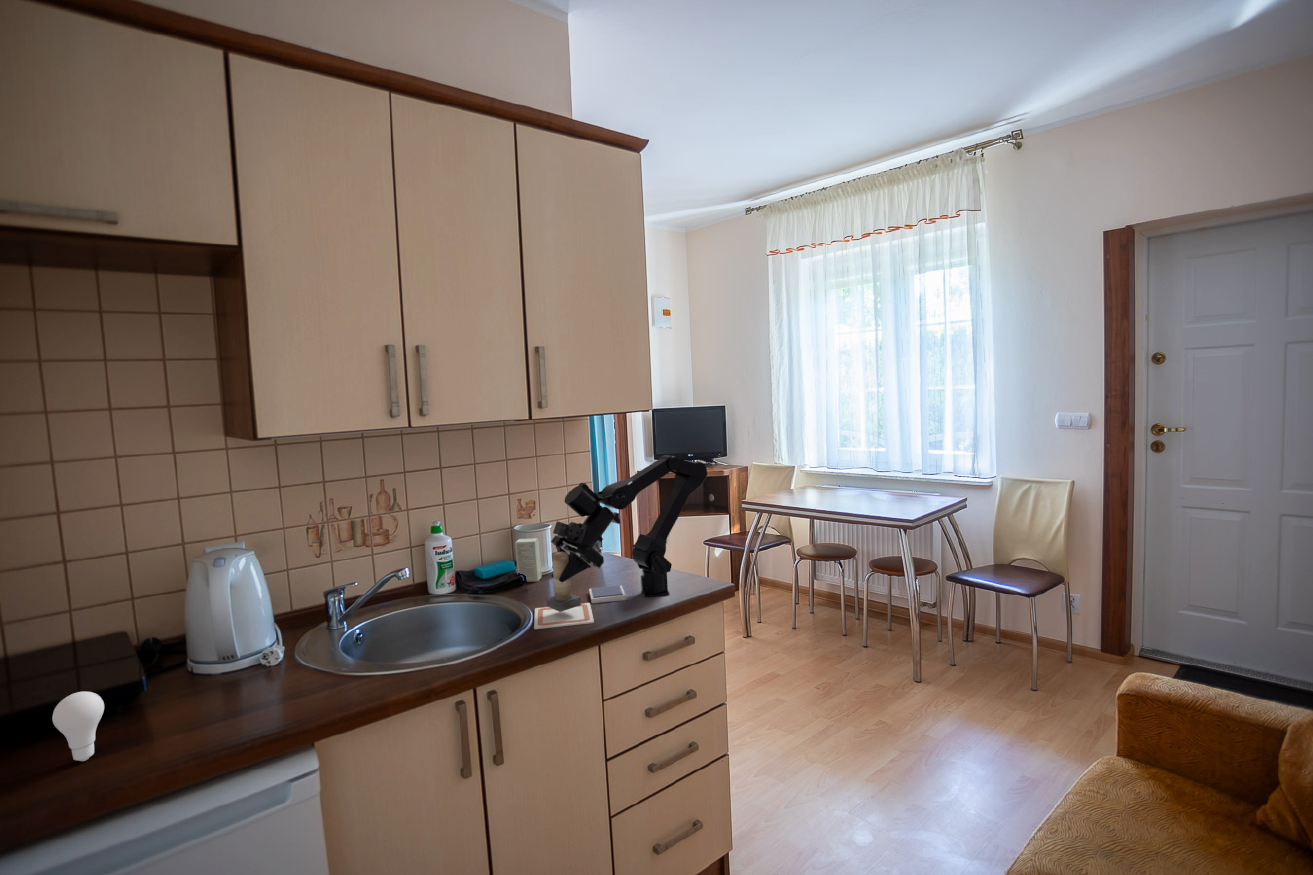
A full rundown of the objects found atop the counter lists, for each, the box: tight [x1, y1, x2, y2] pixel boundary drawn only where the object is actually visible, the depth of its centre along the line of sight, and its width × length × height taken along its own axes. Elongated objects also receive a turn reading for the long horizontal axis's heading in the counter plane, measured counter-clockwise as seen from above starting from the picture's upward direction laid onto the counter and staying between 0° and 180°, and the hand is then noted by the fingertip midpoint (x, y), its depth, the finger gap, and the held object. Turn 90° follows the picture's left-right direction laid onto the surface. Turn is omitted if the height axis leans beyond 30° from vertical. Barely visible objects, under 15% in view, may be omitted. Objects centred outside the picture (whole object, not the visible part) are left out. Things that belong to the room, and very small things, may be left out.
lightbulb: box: [52, 691, 105, 762], centre depth 102 cm, size 6×6×11 cm
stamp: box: [546, 552, 582, 612], centre depth 158 cm, size 6×6×13 cm
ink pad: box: [588, 585, 627, 604], centre depth 172 cm, size 9×9×2 cm
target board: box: [533, 602, 595, 630], centre depth 159 cm, size 14×14×1 cm
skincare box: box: [514, 537, 543, 583], centre depth 191 cm, size 6×4×12 cm
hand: (556, 579), depth 157 cm, fingers closed on stamp, 4 cm apart
